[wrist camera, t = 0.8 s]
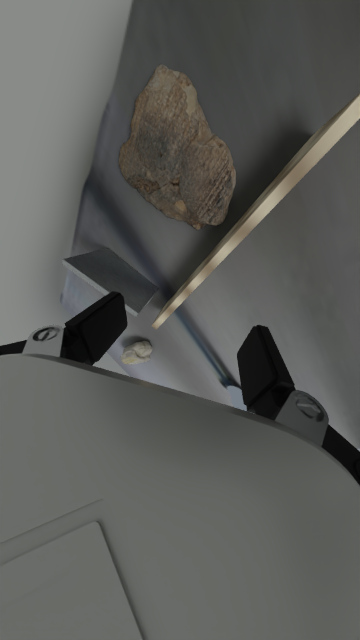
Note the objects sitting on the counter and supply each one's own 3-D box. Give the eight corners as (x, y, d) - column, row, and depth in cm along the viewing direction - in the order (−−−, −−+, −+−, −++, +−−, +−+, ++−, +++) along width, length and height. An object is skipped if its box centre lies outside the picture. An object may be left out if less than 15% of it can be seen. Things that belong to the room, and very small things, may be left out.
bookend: (108, 247, 35) (62, 259, 24) (158, 288, 38) (138, 313, 28) (100, 269, 39) (58, 287, 29) (146, 304, 43) (125, 331, 32)
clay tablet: (255, 181, 23) (162, 53, 18) (263, 174, 20) (148, 10, 14) (198, 249, 31) (123, 174, 26) (196, 254, 28) (107, 167, 23)
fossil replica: (159, 344, 52) (137, 329, 52) (150, 359, 45) (124, 343, 45) (147, 361, 59) (127, 348, 58) (137, 377, 52) (114, 363, 51)
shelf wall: (312, 135, 19) (367, 86, 12) (317, 144, 20) (375, 102, 13) (162, 308, 42) (151, 325, 35) (166, 311, 42) (156, 329, 35)
